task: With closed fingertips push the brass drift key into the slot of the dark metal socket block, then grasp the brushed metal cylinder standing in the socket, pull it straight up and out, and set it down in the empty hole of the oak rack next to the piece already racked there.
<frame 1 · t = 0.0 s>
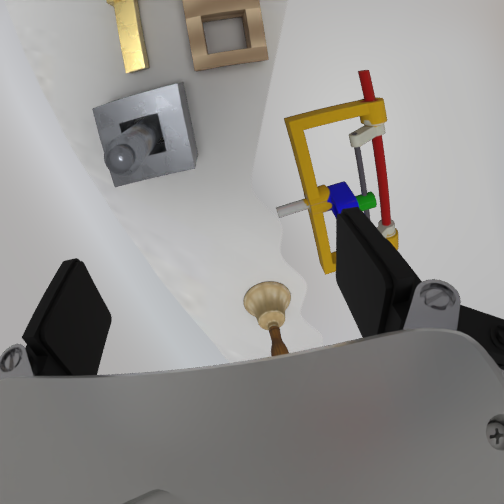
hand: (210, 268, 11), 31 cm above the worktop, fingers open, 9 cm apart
drift key: (129, 28, 27), point 2 cm above the worktop, slide at 0.0 cm
brushed metal cylinder: (152, 127, 36), resting in socket block
hand bell: (267, 299, 54), on the worktop
rack: (220, 8, 28), on the worktop
socket block: (152, 127, 36), on the worktop
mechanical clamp: (331, 179, 43), on the worktop
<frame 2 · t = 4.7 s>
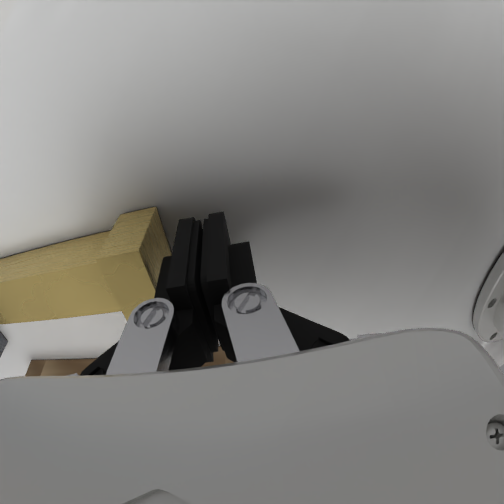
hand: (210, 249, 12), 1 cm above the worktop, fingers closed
drift key: (47, 287, 11), point 2 cm above the worktop, slide at 0.2 cm, touching gripper
rack: (146, 391, 19), on the worktop
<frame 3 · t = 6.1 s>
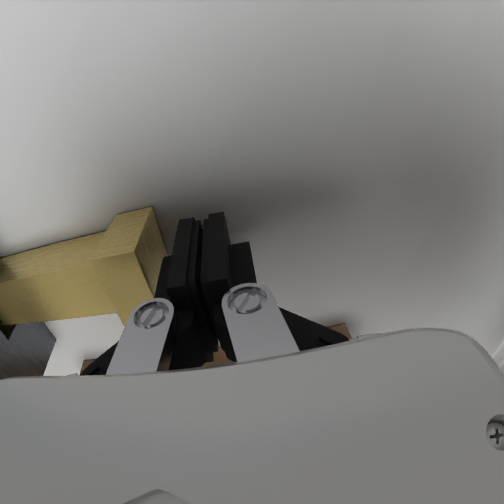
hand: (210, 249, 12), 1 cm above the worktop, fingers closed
drift key: (42, 288, 11), point 2 cm above the worktop, slide at 5.6 cm
rack: (219, 385, 19), on the worktop
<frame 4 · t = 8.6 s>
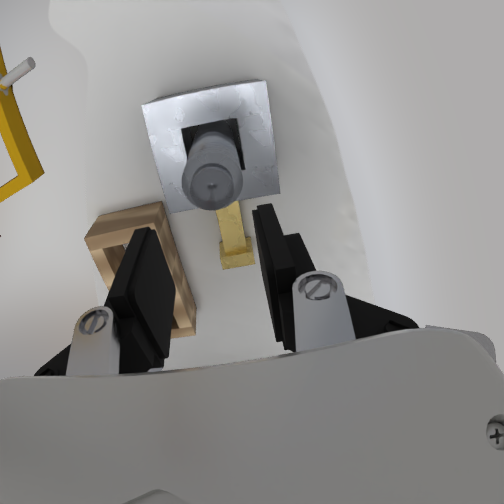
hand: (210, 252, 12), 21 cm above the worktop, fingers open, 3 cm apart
drift key: (228, 213, 32), point 2 cm above the worktop, slide at 5.6 cm
brushed metal cylinder: (214, 134, 29), resting in socket block
rack: (149, 266, 37), on the worktop
socket block: (214, 134, 29), on the worktop
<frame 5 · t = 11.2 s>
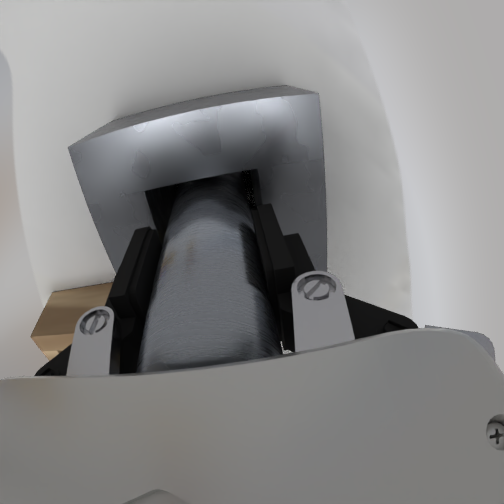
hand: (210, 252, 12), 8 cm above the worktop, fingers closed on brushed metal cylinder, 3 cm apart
brushed metal cylinder: (212, 180, 18), resting in socket block, touching gripper
rack: (129, 352, 26), on the worktop
socket block: (212, 180, 18), on the worktop
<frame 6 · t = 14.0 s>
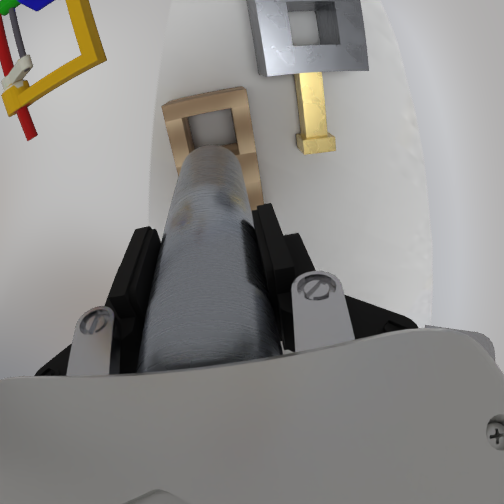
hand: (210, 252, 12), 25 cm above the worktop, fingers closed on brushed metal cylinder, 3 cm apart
drift key: (311, 99, 30), point 2 cm above the worktop, slide at 5.6 cm
brushed metal cylinder: (211, 173, 18), point 17 cm above the worktop, touching gripper
rack: (218, 159, 34), on the worktop
socket block: (298, 29, 26), on the worktop
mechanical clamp: (53, 6, 21), on the worktop
when the fingers open (10 cm above the worktop, at t = 17.2 s): brushed metal cylinder drops 2 cm, resting in rack.
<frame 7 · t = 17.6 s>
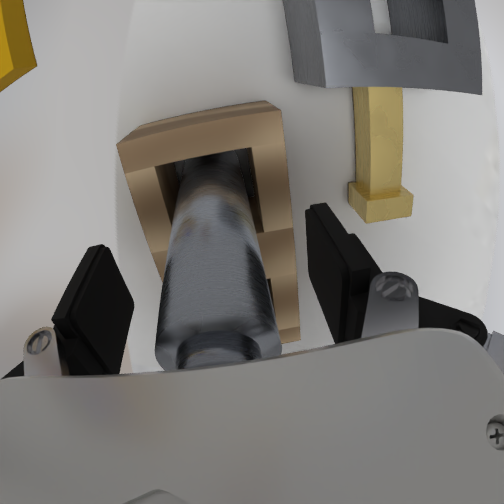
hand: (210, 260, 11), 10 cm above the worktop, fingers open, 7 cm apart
drift key: (381, 129, 17), point 2 cm above the worktop, slide at 5.6 cm
brushed metal cylinder: (211, 167, 19), resting in rack
rack: (223, 222, 22), on the worktop
socket block: (359, 10, 14), on the worktop
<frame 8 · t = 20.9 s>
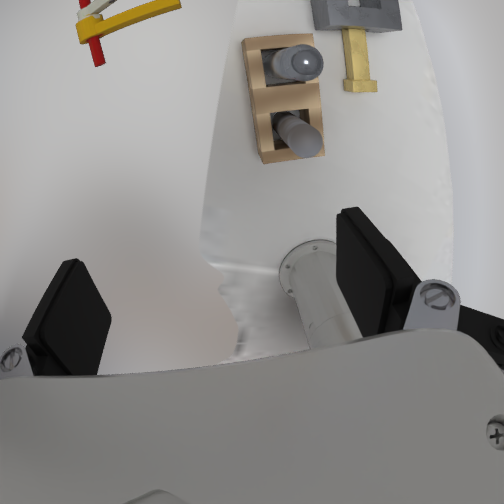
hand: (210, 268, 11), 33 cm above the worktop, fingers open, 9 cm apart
drift key: (357, 51, 33), point 2 cm above the worktop, slide at 5.6 cm
brushed metal cylinder: (275, 65, 35), resting in rack
rack: (279, 94, 37), on the worktop
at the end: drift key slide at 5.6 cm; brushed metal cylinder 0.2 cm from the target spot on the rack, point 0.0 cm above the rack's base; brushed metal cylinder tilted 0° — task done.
